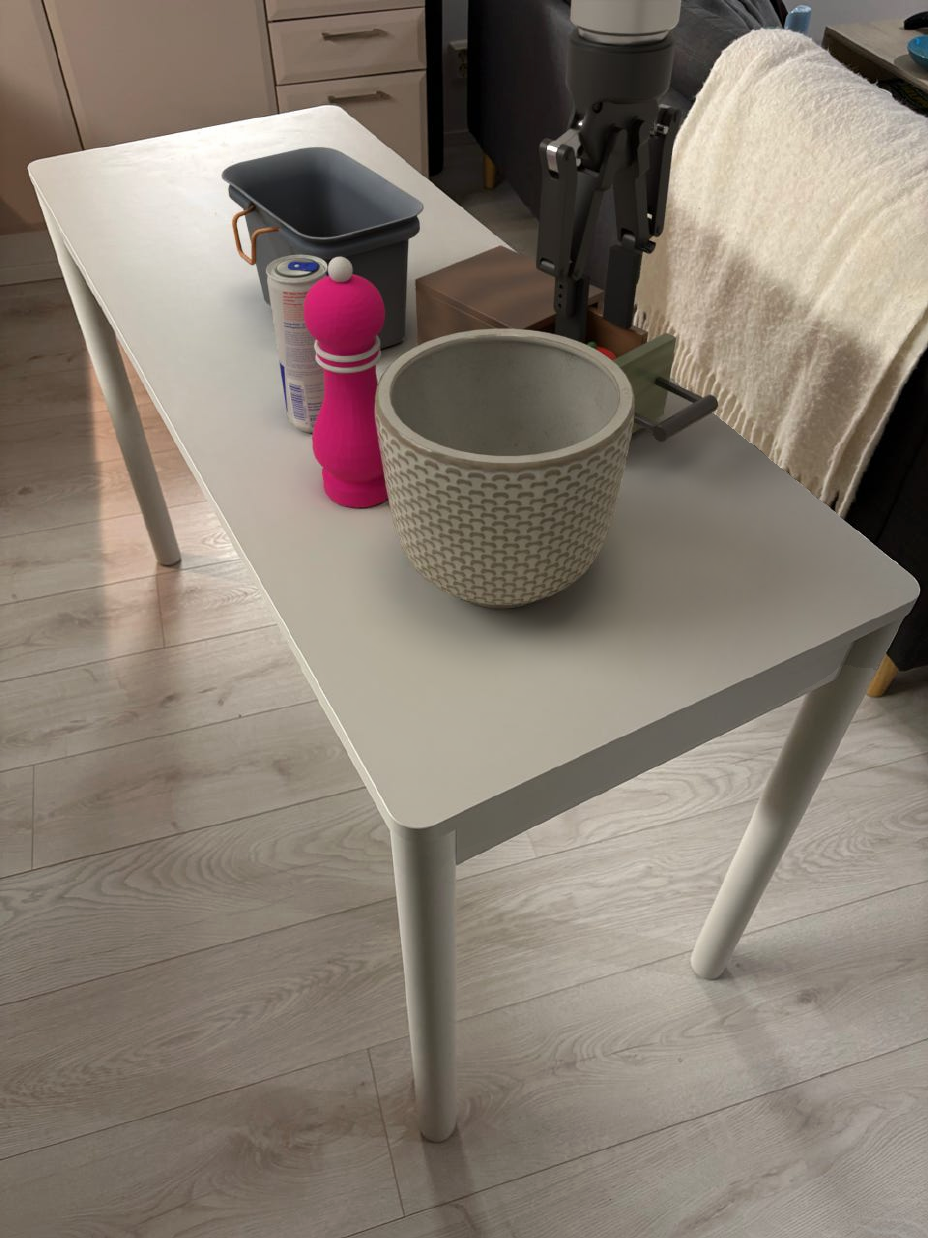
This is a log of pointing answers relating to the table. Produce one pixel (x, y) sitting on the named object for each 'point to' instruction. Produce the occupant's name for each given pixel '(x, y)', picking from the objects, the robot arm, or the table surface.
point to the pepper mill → (347, 384)
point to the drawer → (646, 374)
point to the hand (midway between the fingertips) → (593, 334)
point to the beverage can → (296, 336)
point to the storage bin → (328, 220)
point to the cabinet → (488, 296)
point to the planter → (503, 460)
